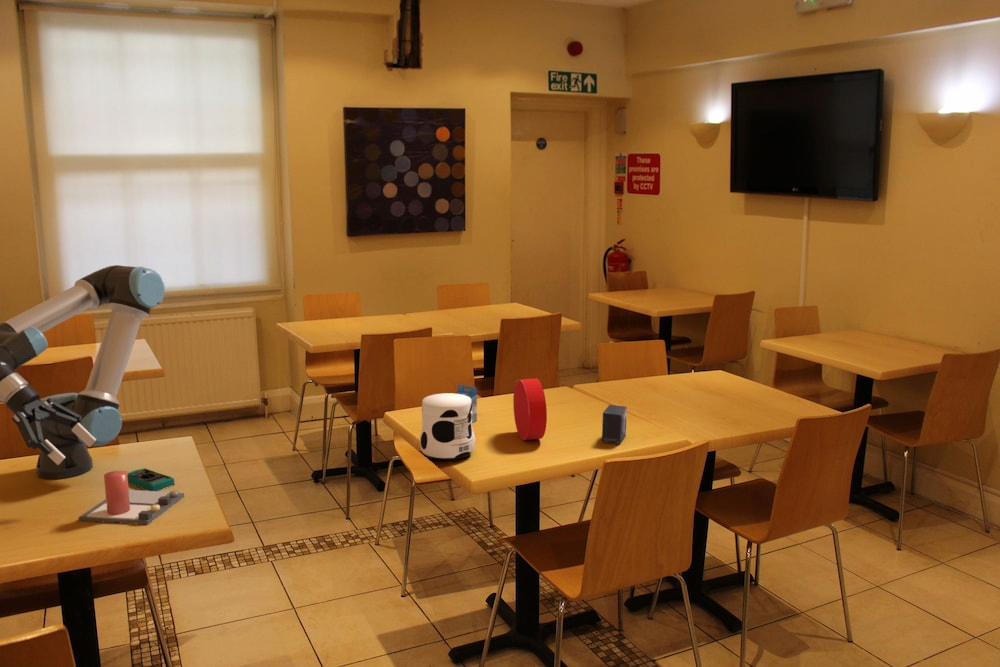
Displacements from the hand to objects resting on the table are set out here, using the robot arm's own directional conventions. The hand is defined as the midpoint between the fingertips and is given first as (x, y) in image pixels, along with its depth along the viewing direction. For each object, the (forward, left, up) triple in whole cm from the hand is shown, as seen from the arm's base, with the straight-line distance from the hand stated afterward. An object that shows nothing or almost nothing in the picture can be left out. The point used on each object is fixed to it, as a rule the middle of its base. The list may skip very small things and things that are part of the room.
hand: (77, 452), depth 226 cm
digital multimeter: (-23, +6, -18) cm, 29 cm away
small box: (-79, +138, -17) cm, 160 cm away
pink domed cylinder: (0, +10, -16) cm, 18 cm away
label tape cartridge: (-94, +85, -17) cm, 128 cm away
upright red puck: (-77, +110, -17) cm, 136 cm away
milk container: (-58, +86, -17) cm, 105 cm away
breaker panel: (-5, +11, -17) cm, 21 cm away
